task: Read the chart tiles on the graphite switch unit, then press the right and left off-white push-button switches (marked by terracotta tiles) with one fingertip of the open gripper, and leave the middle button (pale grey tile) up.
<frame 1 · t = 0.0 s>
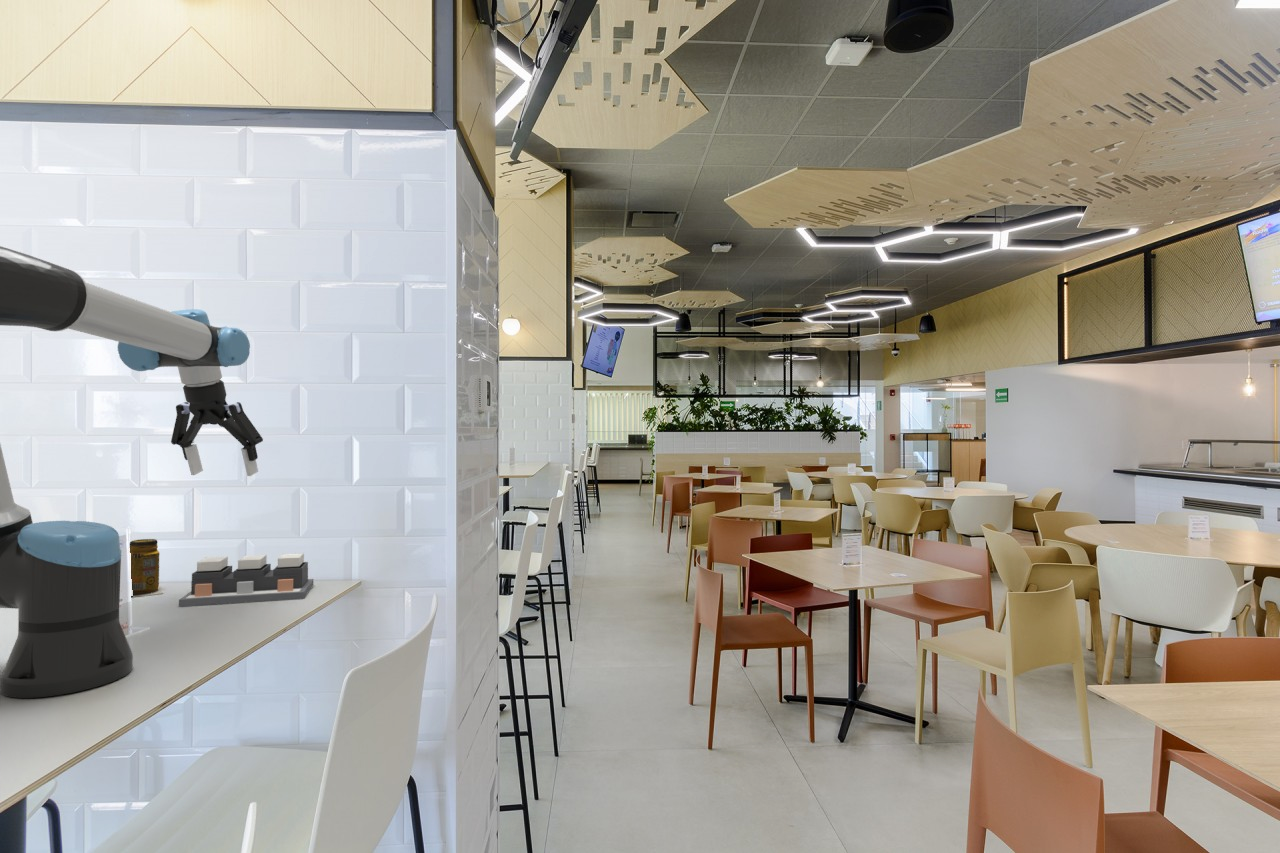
hand: (225, 473, 151), 28 cm above the table, tool tilted 20°, fingers open, 13 cm apart
condiment: (142, 593, 155), on the table
button mid: (252, 561, 154), point 7 cm above the table, slide at 0.0 cm
button right: (291, 560, 157), point 7 cm above the table, slide at 0.0 cm
button left: (212, 563, 152), point 7 cm above the table, slide at 0.0 cm
switch unit: (250, 595, 153), on the table
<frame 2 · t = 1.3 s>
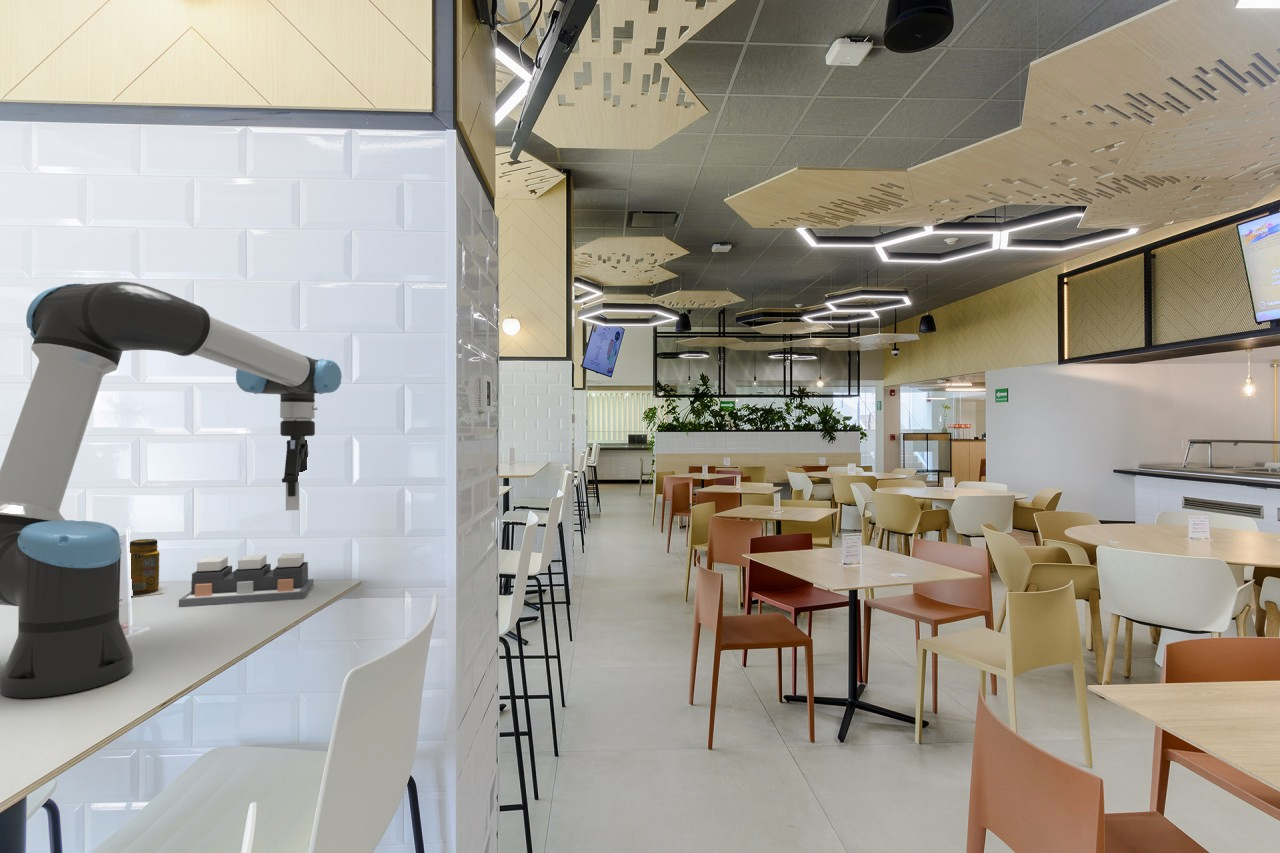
hand: (297, 506, 164), 19 cm above the table, tool pointing down, fingers open, 13 cm apart
nothing on the table moved.
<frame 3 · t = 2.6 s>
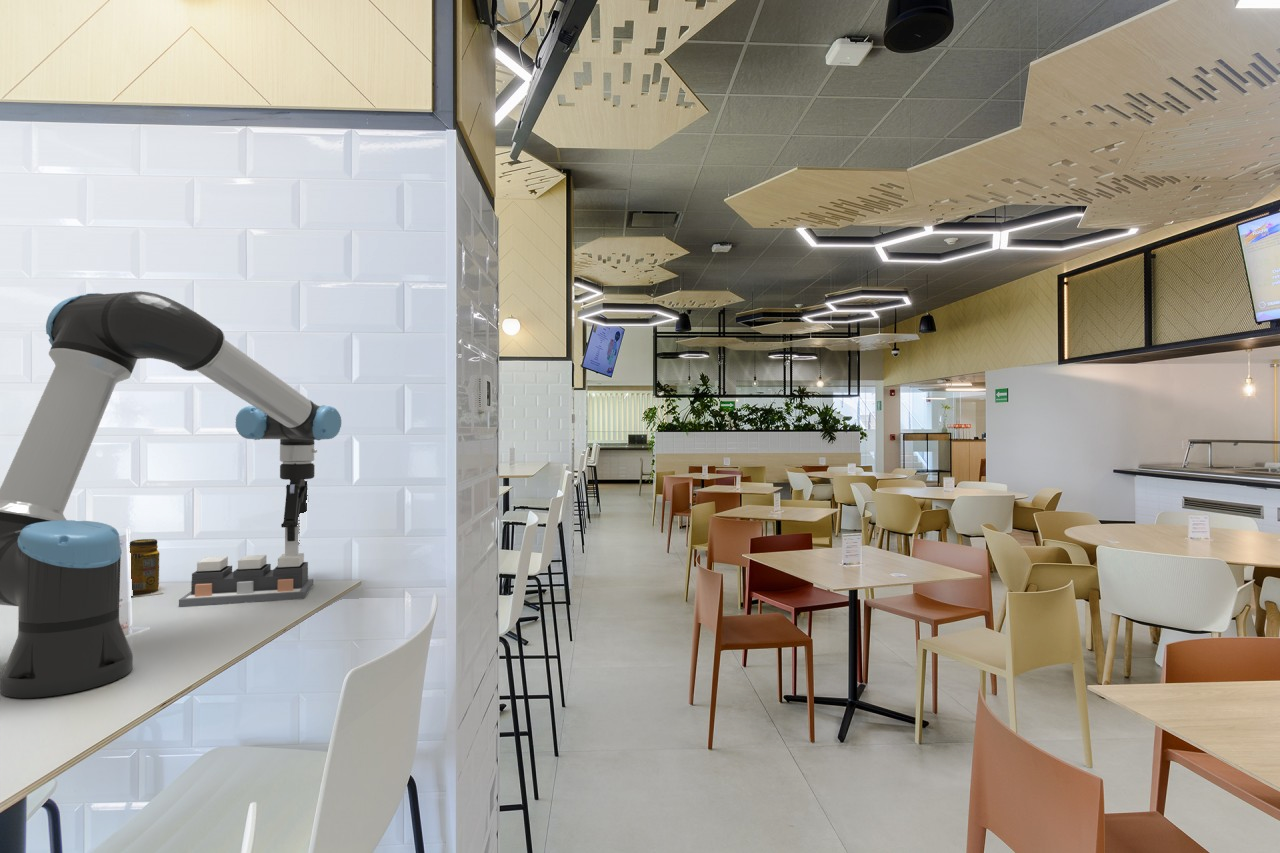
hand: (297, 549, 163), 8 cm above the table, tool pointing down, fingers open, 13 cm apart
button right: (291, 560, 157), point 7 cm above the table, slide at 0.0 cm, touching gripper
everything else where it was.
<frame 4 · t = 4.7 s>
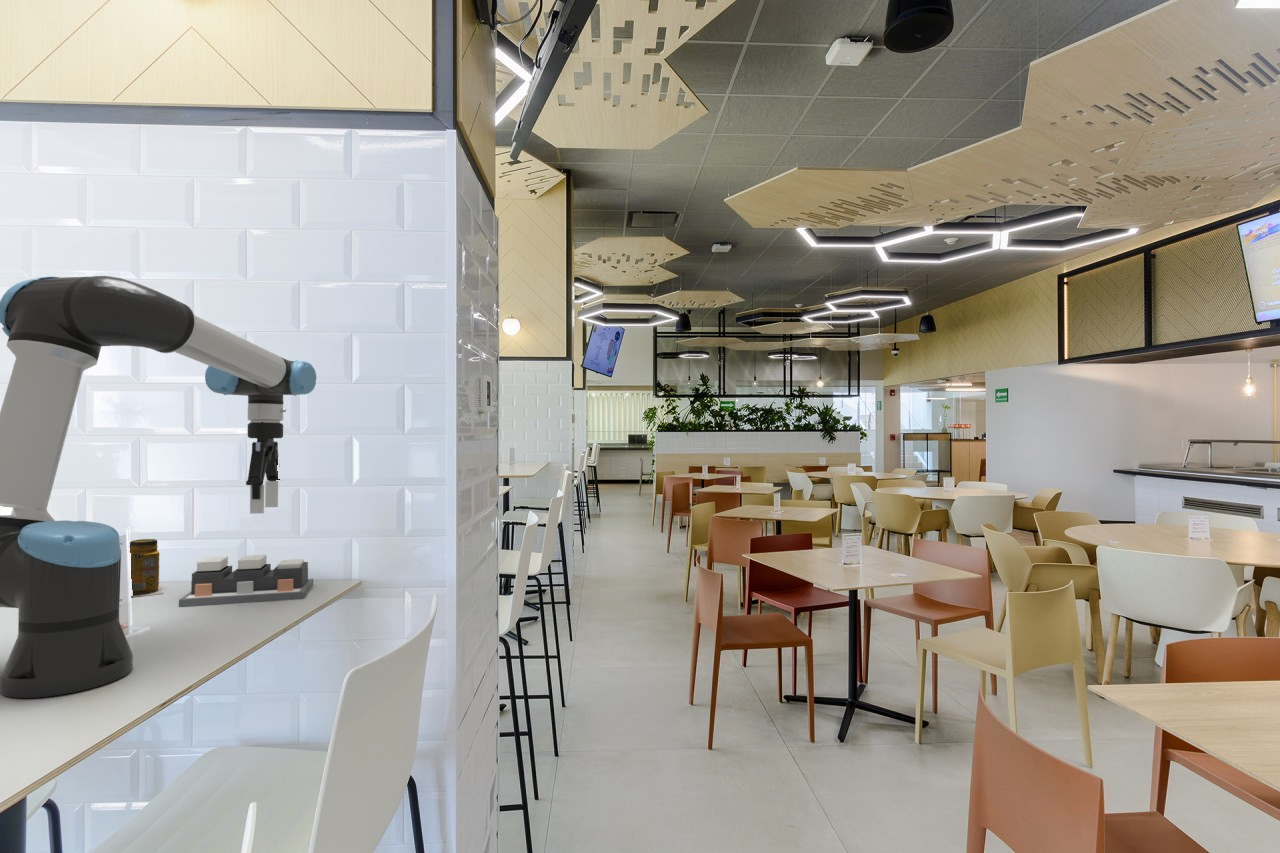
hand: (264, 510, 161), 18 cm above the table, tool pointing down, fingers open, 13 cm apart
button right: (291, 566, 157), point 6 cm above the table, slide at 1.4 cm
everything else where it was.
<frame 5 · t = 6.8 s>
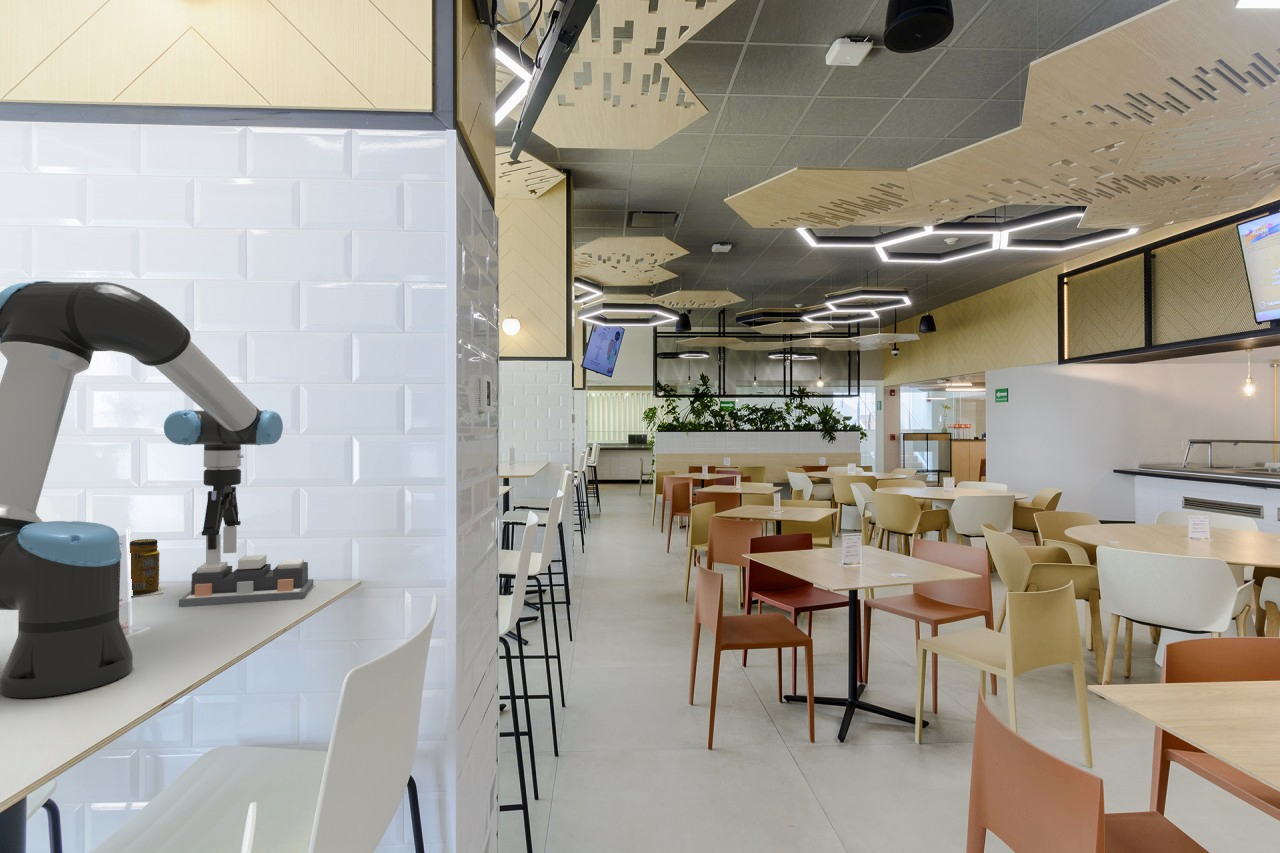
hand: (221, 558, 159), 7 cm above the table, tool pointing down, fingers open, 13 cm apart
button left: (212, 569, 152), point 6 cm above the table, slide at 1.2 cm, touching gripper
everything else where it was.
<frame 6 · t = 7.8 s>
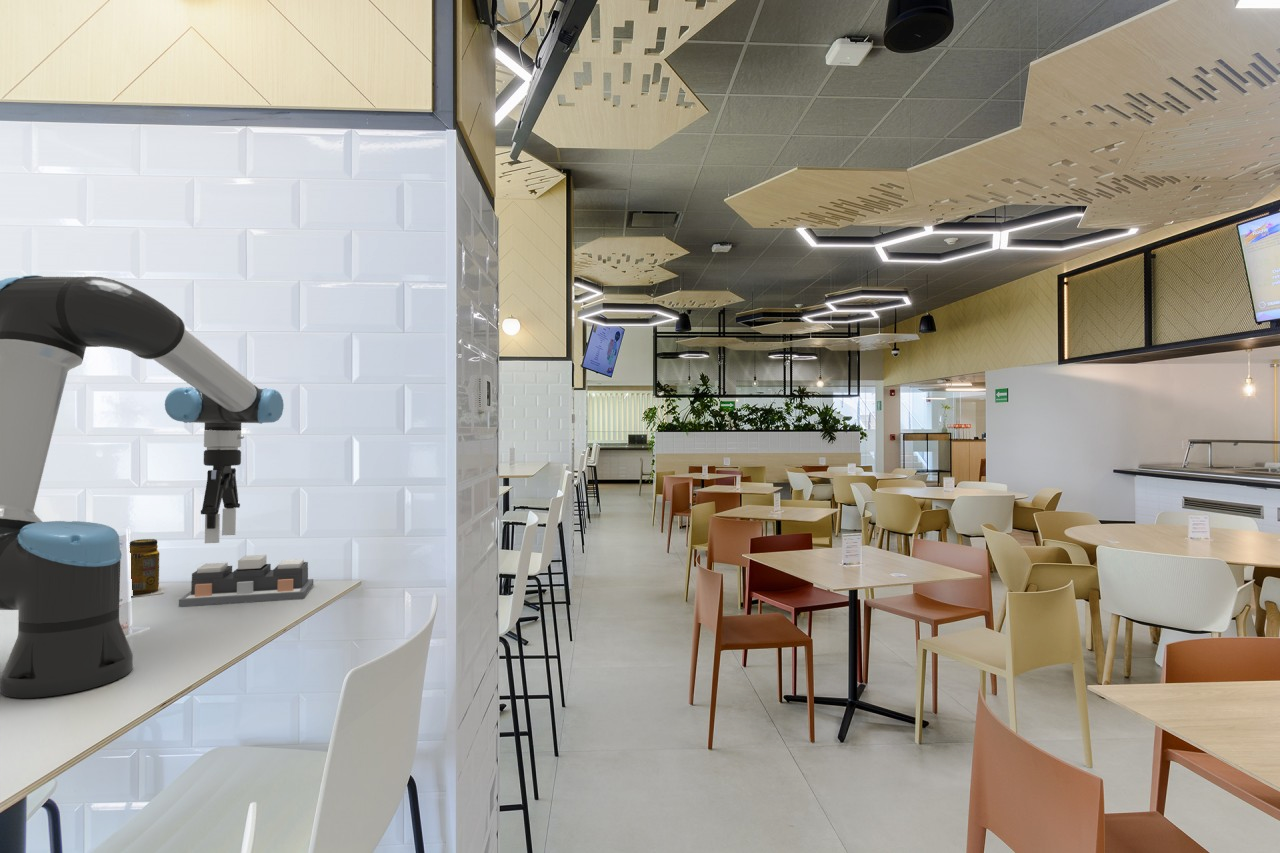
hand: (220, 539, 158), 12 cm above the table, tool pointing down, fingers open, 13 cm apart
button left: (212, 570, 152), point 6 cm above the table, slide at 1.4 cm
everything else where it was.
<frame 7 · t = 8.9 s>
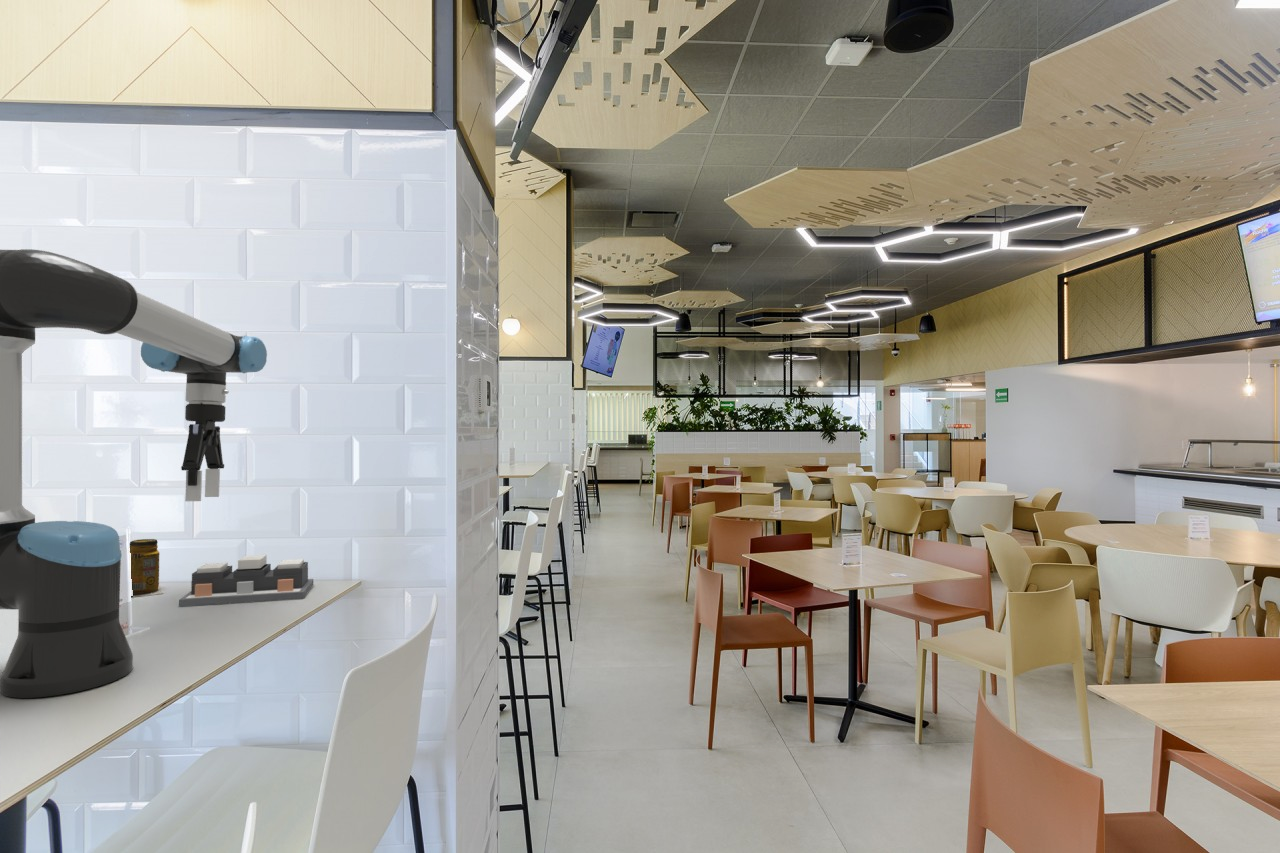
hand: (203, 499, 149), 22 cm above the table, tool pointing down, fingers open, 13 cm apart
nothing on the table moved.
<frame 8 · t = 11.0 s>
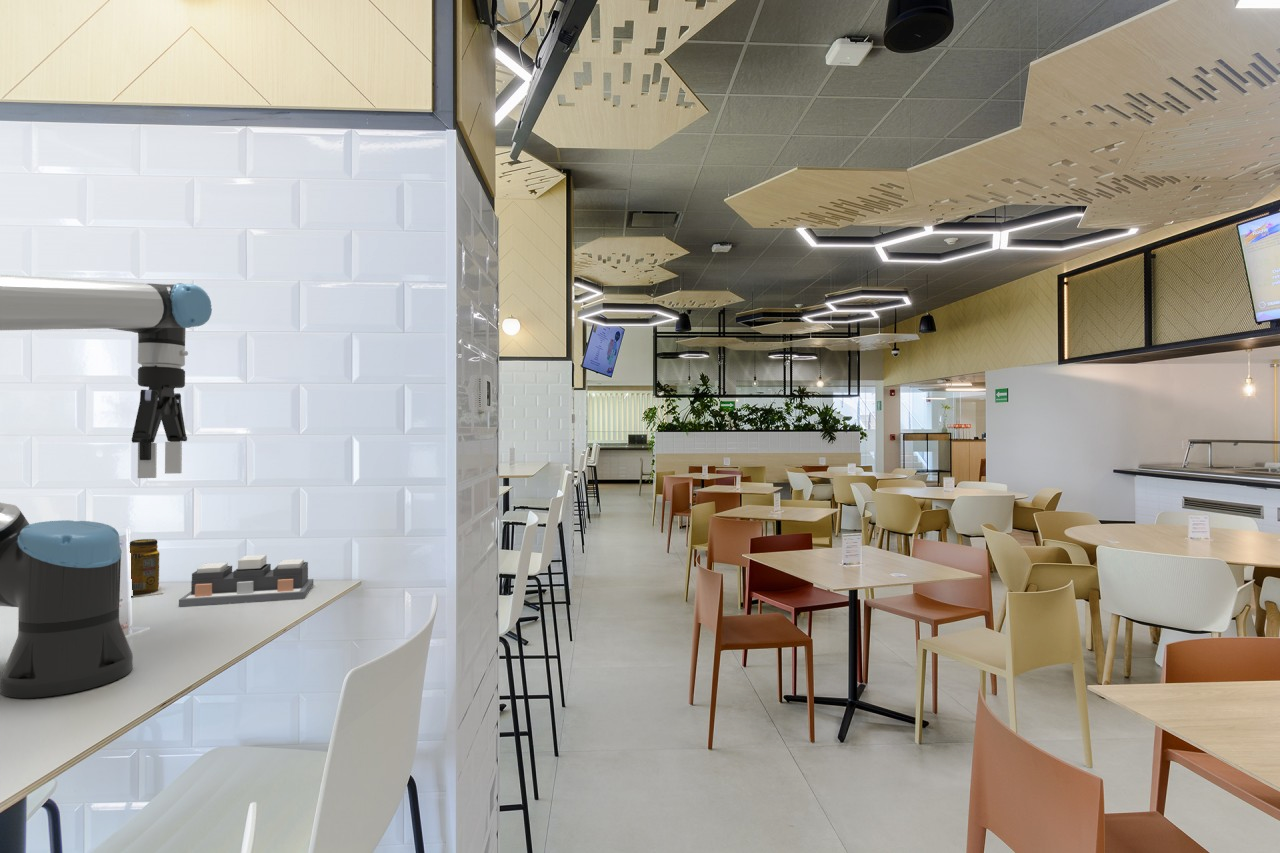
hand: (160, 475, 131), 29 cm above the table, tool pointing down, fingers open, 13 cm apart
nothing on the table moved.
at the end: button right slide at 1.4 cm; button left slide at 1.4 cm; button mid slide at 0.0 cm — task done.
